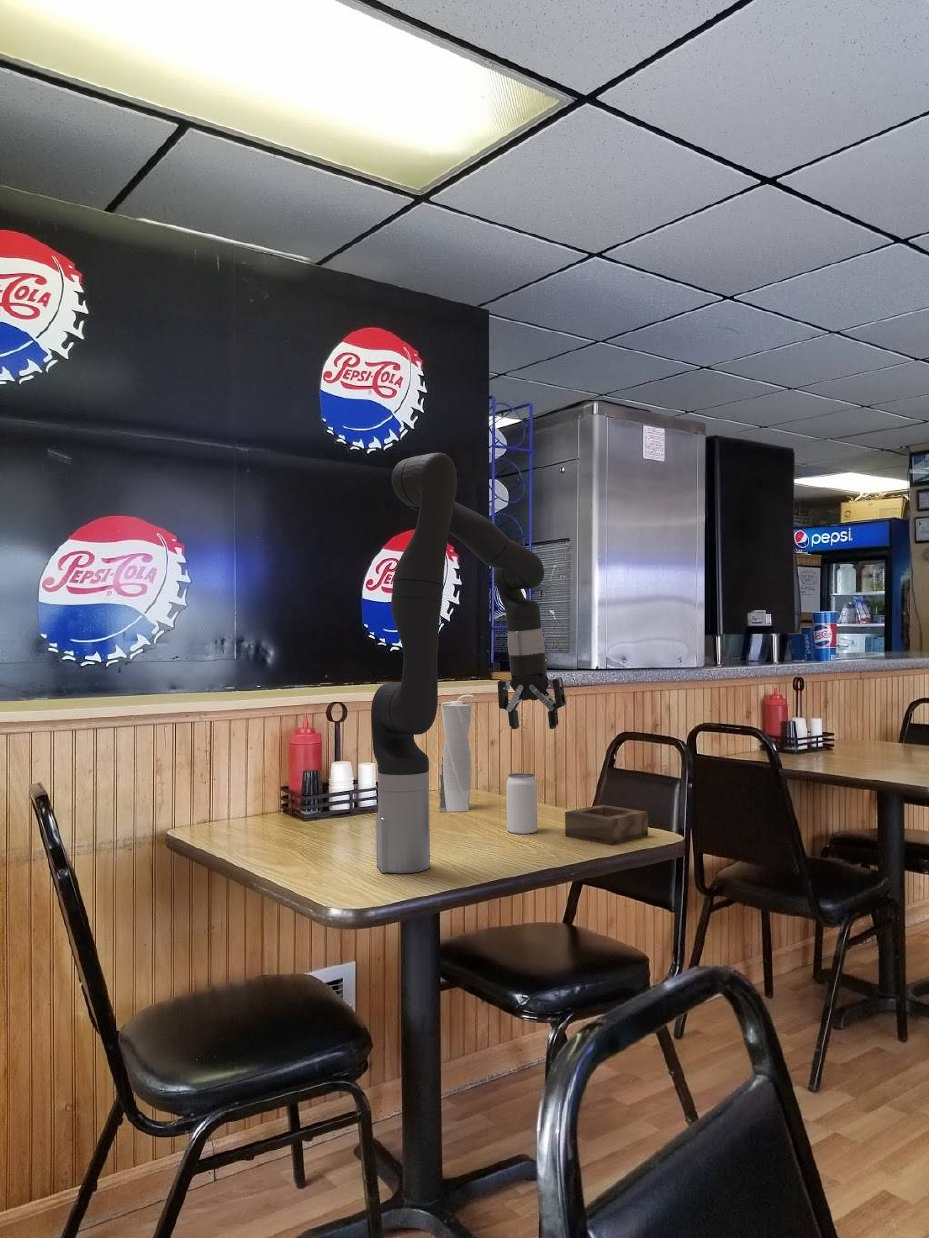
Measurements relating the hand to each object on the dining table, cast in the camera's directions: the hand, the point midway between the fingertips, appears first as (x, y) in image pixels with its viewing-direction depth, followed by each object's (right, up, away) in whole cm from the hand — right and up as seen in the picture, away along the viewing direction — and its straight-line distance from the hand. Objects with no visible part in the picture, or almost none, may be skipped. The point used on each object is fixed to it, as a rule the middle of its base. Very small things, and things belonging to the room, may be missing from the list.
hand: (534, 728), depth 194 cm
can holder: (+15, -22, -2) cm, 27 cm away
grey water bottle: (-16, -24, +30) cm, 42 cm away
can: (-2, -23, +4) cm, 23 cm away
